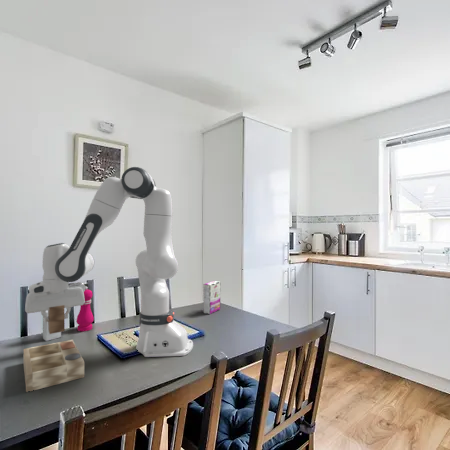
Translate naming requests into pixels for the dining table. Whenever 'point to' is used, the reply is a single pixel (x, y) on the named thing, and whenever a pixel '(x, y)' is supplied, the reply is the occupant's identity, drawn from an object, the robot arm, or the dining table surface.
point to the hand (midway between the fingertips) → (56, 320)
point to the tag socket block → (52, 365)
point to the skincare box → (46, 333)
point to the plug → (56, 319)
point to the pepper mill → (85, 312)
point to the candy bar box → (211, 297)
